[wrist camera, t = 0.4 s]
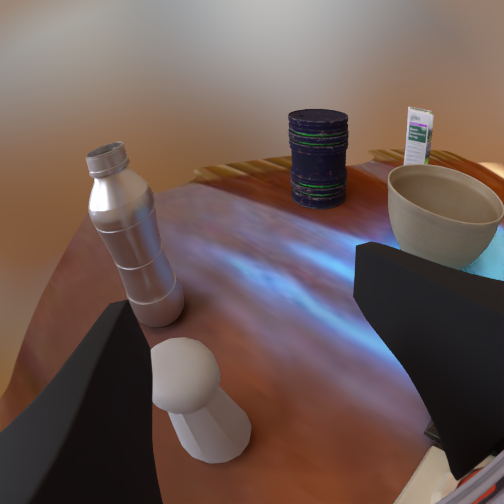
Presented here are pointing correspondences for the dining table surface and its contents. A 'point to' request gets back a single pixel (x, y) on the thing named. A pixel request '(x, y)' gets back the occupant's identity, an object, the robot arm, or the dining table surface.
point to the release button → (484, 493)
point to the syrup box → (418, 136)
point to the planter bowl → (442, 213)
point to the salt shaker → (198, 401)
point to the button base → (433, 479)
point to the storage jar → (318, 157)
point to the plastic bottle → (133, 236)
